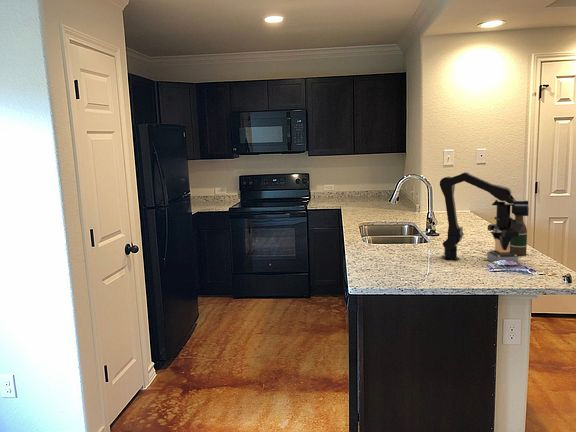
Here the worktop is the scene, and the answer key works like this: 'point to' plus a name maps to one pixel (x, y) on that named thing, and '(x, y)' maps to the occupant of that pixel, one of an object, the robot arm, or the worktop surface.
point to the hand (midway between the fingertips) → (502, 248)
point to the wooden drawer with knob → (501, 247)
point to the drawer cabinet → (501, 256)
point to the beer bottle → (519, 239)
